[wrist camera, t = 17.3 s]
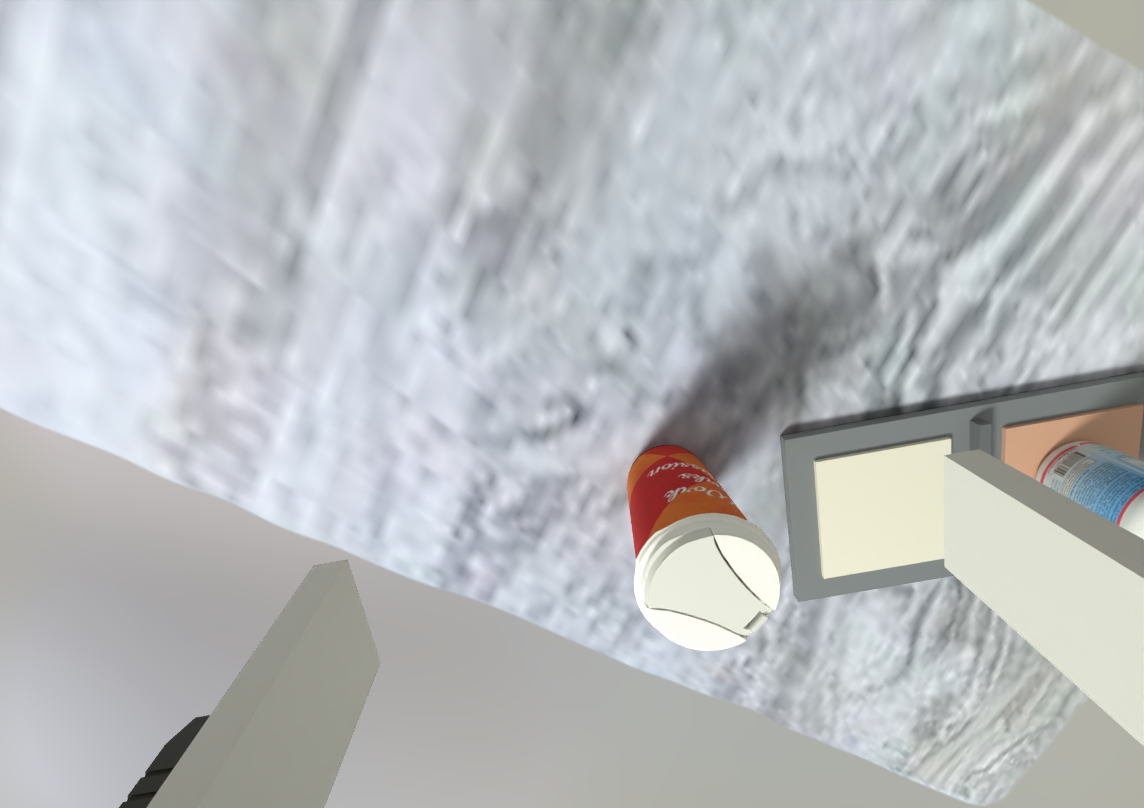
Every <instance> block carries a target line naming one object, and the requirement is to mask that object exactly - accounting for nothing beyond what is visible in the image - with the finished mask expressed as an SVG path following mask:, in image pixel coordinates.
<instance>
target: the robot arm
mask: <svg viewBox="0 0 1144 808" xmlns="http://www.w3.org/2000/svg"><path fill="white" fill-rule="evenodd" d="M944 567H945V568H946V569H948V570H949V571H950V572H951V573H952V574H953V575H954V576H955V577H956V578H958V579H959V580H960V581H961V582H962V583H963V584H964V585H965V586H966V587H968V588H969V589H970V590H971V591H972V592H973V593H974V594H975V595H976V596H978V597H979V598H980V599H981V600H982V601H983V602H984V603H985V604H986V605H988V606H989V607H990V608H991V609H992V610H993V611H994V612H995V613H996V614H998V615H999V616H1000V617H1001V618H1002V619H1003V620H1004V621H1005V622H1006V623H1008V624H1009V625H1010V626H1011V627H1012V628H1013V629H1014V630H1015V631H1016V632H1017V633H1019V634H1020V635H1021V636H1022V637H1023V638H1024V639H1025V640H1026V641H1027V642H1029V643H1030V644H1031V645H1032V646H1033V647H1034V648H1035V649H1036V650H1037V651H1039V652H1040V653H1041V654H1042V655H1043V656H1044V657H1045V658H1046V659H1047V660H1049V661H1050V662H1051V663H1052V664H1053V665H1054V666H1055V667H1056V668H1057V669H1059V670H1060V671H1061V672H1062V673H1063V674H1064V675H1065V676H1066V677H1067V678H1069V679H1070V680H1071V681H1072V682H1073V683H1074V684H1075V685H1076V686H1077V687H1079V688H1080V689H1081V690H1082V691H1083V692H1084V693H1085V694H1086V695H1087V696H1089V697H1090V698H1091V699H1092V700H1093V701H1094V702H1095V703H1097V705H1099V706H1100V707H1101V708H1102V709H1103V710H1104V711H1105V712H1106V713H1107V714H1109V715H1110V716H1111V717H1112V718H1113V719H1114V720H1115V721H1116V722H1117V723H1118V724H1120V725H1121V726H1122V727H1123V728H1124V729H1125V730H1126V731H1127V732H1129V733H1130V734H1131V735H1132V736H1133V737H1134V738H1135V739H1136V740H1137V741H1138V742H1140V743H1141V744H1142V745H1143V746H1144V539H1142V538H1140V537H1139V536H1137V535H1135V534H1133V533H1131V532H1129V531H1128V530H1126V529H1124V528H1122V527H1120V526H1119V525H1117V524H1115V523H1113V522H1111V521H1109V520H1108V519H1106V518H1104V517H1102V516H1100V515H1099V514H1097V513H1095V512H1093V511H1091V510H1089V509H1088V508H1086V507H1084V506H1082V505H1080V504H1079V503H1077V502H1075V501H1073V500H1071V499H1069V498H1068V497H1066V496H1064V495H1062V494H1060V493H1058V492H1057V491H1055V490H1053V489H1051V488H1049V487H1048V486H1046V485H1044V484H1042V483H1040V482H1038V481H1037V480H1035V479H1033V478H1031V477H1029V476H1028V475H1026V474H1024V473H1022V472H1020V471H1018V470H1017V469H1015V468H1013V467H1011V466H1009V465H1008V464H1006V463H1004V462H1002V461H1000V460H998V459H997V458H995V457H993V456H991V455H989V454H988V453H986V452H984V451H982V450H980V449H978V450H972V451H966V452H960V453H955V454H949V455H944ZM380 663H381V662H380V659H379V656H378V653H377V649H376V647H375V643H374V640H373V637H372V634H371V631H370V628H369V625H368V621H367V618H366V615H365V612H364V609H363V606H362V603H361V600H360V597H359V594H358V590H357V587H356V584H355V581H354V578H353V575H352V572H351V569H350V566H349V563H348V560H342V561H336V562H331V563H325V564H320V565H314V566H313V567H312V569H311V570H310V571H309V573H308V574H307V576H306V577H305V579H304V580H303V582H302V583H301V585H300V586H299V588H298V589H297V590H296V592H295V593H294V595H293V596H292V598H291V599H290V600H289V602H288V603H287V605H286V606H285V608H284V609H283V611H282V612H281V613H280V615H279V617H278V618H277V619H276V621H275V622H274V624H273V625H272V627H271V628H270V629H269V631H268V632H267V634H266V635H265V637H264V638H263V640H262V641H261V642H260V644H259V645H258V647H257V648H256V650H255V651H254V653H253V654H252V656H251V657H250V658H249V660H248V662H247V663H246V664H245V666H244V667H243V669H242V670H241V671H240V673H239V674H238V676H237V677H236V679H235V680H234V682H233V683H232V685H231V686H230V688H229V689H228V690H227V692H226V693H225V695H224V696H223V698H222V699H221V700H220V702H219V703H218V705H217V706H216V708H215V709H214V711H213V712H212V714H211V715H209V716H203V717H198V718H195V719H194V720H192V721H191V722H190V723H189V724H188V725H187V726H186V727H184V728H183V729H182V730H181V731H180V732H179V733H178V734H177V735H175V736H174V737H173V738H172V739H171V740H170V741H169V742H168V743H167V744H166V745H165V746H164V748H163V749H162V750H161V751H160V753H159V754H158V756H157V757H156V758H155V760H154V761H153V762H152V764H151V765H150V767H149V768H148V769H147V771H146V772H145V773H146V775H145V777H143V778H141V779H140V780H139V781H138V783H137V784H136V785H135V787H134V788H133V790H132V791H131V792H130V794H129V795H128V800H127V802H123V803H122V804H121V806H120V807H119V808H324V806H325V804H326V802H327V799H328V796H329V794H330V791H331V789H332V786H333V784H334V781H335V779H336V776H337V773H338V771H339V768H340V766H341V763H342V761H343V758H344V755H345V753H346V750H347V748H348V745H349V742H350V740H351V737H352V735H353V732H354V730H355V727H356V724H357V722H358V720H359V717H360V714H361V711H362V709H363V707H364V704H365V702H366V699H367V696H368V694H369V691H370V689H371V686H372V683H373V681H374V678H375V676H376V673H377V671H378V668H379V666H380Z"/></svg>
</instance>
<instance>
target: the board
mask: <svg viewBox="0 0 1144 808" xmlns="http://www.w3.org/2000/svg"><path fill="white" fill-rule="evenodd" d="M780 440H781V452H782V463H783V475H784V486H785V498H786V509H787V521H788V532H789V543H790V555H791V566H792V578H793V589H794V596H795V597H796V599H797V600H798V602H801V601H807V600H813V599H819V598H825V597H831V596H836V595H842V594H848V593H854V592H860V591H866V590H872V589H878V588H884V587H890V586H895V585H901V584H907V583H913V582H919V581H925V580H931V579H937V578H943V577H949V576H954V575H953V574H952V573H951V572H950V571H949V570H948V569H946V568H945V567H944V455H949V454H955V453H960V452H966V451H972V450H978V449H980V450H982V451H984V452H986V453H988V454H989V455H991V456H993V457H995V458H997V459H998V460H1000V461H1002V462H1004V463H1006V464H1008V465H1009V466H1011V467H1013V468H1015V469H1017V470H1018V471H1020V472H1022V473H1024V474H1026V475H1028V476H1029V477H1031V478H1033V479H1035V478H1036V474H1037V471H1038V469H1039V467H1040V465H1041V464H1042V462H1043V461H1044V460H1045V459H1046V458H1047V457H1048V456H1049V455H1050V454H1051V453H1052V452H1053V451H1055V450H1056V449H1058V448H1059V447H1061V446H1063V445H1066V444H1068V443H1072V442H1076V441H1092V442H1096V443H1099V444H1102V445H1105V446H1107V447H1109V448H1112V449H1114V450H1117V451H1119V452H1122V453H1124V454H1127V455H1129V456H1132V457H1134V458H1137V459H1139V460H1142V461H1144V371H1143V372H1138V373H1132V374H1126V375H1121V376H1115V377H1109V378H1104V379H1098V380H1092V381H1087V382H1081V383H1075V384H1070V385H1064V386H1058V387H1053V388H1047V389H1041V390H1036V391H1030V392H1024V393H1019V394H1013V395H1007V396H1002V397H996V398H991V399H985V400H979V401H974V402H968V403H962V404H957V405H951V406H945V407H940V408H934V409H928V410H923V411H917V412H911V413H906V414H900V415H894V416H889V417H883V418H877V419H872V420H866V421H860V422H855V423H849V424H843V425H838V426H832V427H826V428H821V429H815V430H809V431H804V432H798V433H792V434H787V435H781V436H780Z"/></svg>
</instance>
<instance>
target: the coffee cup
mask: <svg viewBox="0 0 1144 808" xmlns="http://www.w3.org/2000/svg"><path fill="white" fill-rule="evenodd" d="M628 499H629V507H630V516H631V524H632V531H633V539H634V547H635V554H636V567H635V576H634V591H635V596H636V600H637V603H638V605H639V607H640V610H641V611H642V613H643V614H644V616H645V617H646V619H647V620H648V621H649V622H650V623H651V624H652V625H653V626H654V627H655V628H657V629H658V630H659V631H660V632H661V633H662V634H663V635H664V636H666V637H667V638H668V639H670V640H671V641H673V642H675V643H677V644H679V645H681V646H684V647H687V648H690V649H695V650H702V651H714V650H722V649H727V648H731V647H733V646H736V645H739V644H741V643H743V642H745V641H747V637H746V636H748V635H749V634H750V633H751V632H752V633H755V632H756V631H757V630H758V629H759V628H760V627H761V625H762V624H763V623H764V622H765V621H766V620H767V619H768V617H767V616H768V615H769V613H770V612H771V611H772V609H773V610H775V609H776V607H777V604H778V601H779V596H780V584H781V571H782V570H781V563H780V558H779V556H778V553H777V550H776V548H775V547H774V545H773V543H772V541H771V540H770V539H769V538H768V536H767V535H766V534H765V533H764V532H763V531H762V530H760V529H759V528H758V527H757V526H756V525H754V524H752V523H750V522H749V521H748V520H747V519H746V518H745V517H744V515H743V514H742V513H741V511H740V510H739V509H738V508H737V506H736V505H735V504H734V502H733V501H732V500H731V499H730V497H729V496H728V495H727V493H726V492H725V491H724V490H723V488H722V487H721V486H720V485H719V483H718V482H717V481H716V480H715V478H714V477H713V476H712V475H711V473H710V472H709V471H708V470H707V468H706V467H705V466H704V465H703V464H702V463H701V461H700V460H699V459H698V458H697V457H696V456H695V455H694V454H692V453H691V452H690V451H688V450H686V449H684V448H682V447H679V446H674V445H662V446H657V447H654V448H652V449H649V450H648V451H646V452H644V453H643V454H642V455H640V456H639V457H638V458H637V460H636V461H635V462H634V464H633V465H632V467H631V469H630V472H629V476H628Z"/></svg>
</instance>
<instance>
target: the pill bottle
mask: <svg viewBox="0 0 1144 808" xmlns="http://www.w3.org/2000/svg"><path fill="white" fill-rule="evenodd" d="M1035 480H1037V481H1038V482H1040V483H1042V484H1044V485H1046V486H1048V487H1049V488H1051V489H1053V490H1055V491H1057V492H1058V493H1060V494H1062V495H1064V496H1066V497H1068V498H1069V499H1071V500H1073V501H1075V502H1077V503H1079V504H1080V505H1082V506H1084V507H1086V508H1088V509H1089V510H1091V511H1093V512H1095V513H1097V514H1099V515H1100V516H1102V517H1104V518H1106V519H1108V520H1109V521H1111V522H1113V523H1115V524H1117V525H1119V526H1120V527H1122V528H1124V529H1126V530H1128V531H1129V532H1131V533H1133V534H1135V535H1137V536H1139V537H1140V538H1142V539H1144V461H1142V460H1139V459H1137V458H1134V457H1132V456H1129V455H1127V454H1124V453H1122V452H1119V451H1117V450H1114V449H1112V448H1109V447H1107V446H1105V445H1102V444H1099V443H1096V442H1092V441H1076V442H1072V443H1068V444H1066V445H1063V446H1061V447H1059V448H1058V449H1056V450H1055V451H1053V452H1052V453H1051V454H1050V455H1049V456H1048V457H1047V458H1046V459H1045V460H1044V461H1043V462H1042V464H1041V465H1040V467H1039V469H1038V471H1037V474H1036V478H1035Z"/></svg>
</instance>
